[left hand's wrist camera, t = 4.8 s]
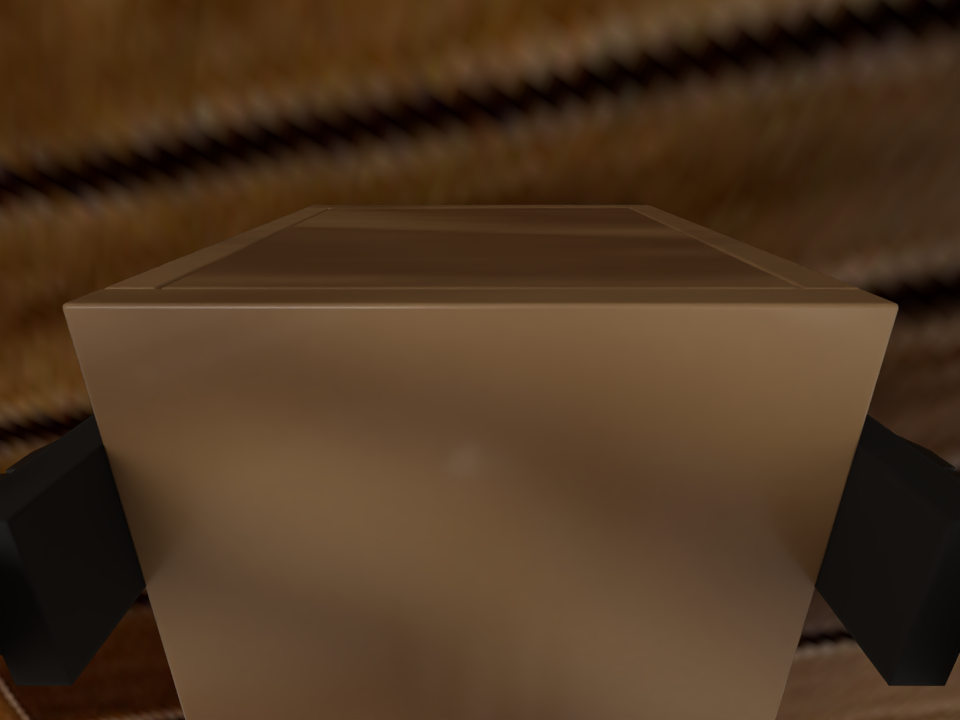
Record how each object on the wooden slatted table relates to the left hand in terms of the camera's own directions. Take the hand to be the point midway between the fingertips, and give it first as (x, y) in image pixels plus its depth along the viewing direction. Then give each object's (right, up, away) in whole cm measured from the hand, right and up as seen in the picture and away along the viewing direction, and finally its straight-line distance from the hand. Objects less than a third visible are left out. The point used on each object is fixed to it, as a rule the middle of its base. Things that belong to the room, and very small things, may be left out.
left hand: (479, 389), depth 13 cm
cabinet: (0, -3, +8) cm, 9 cm away
